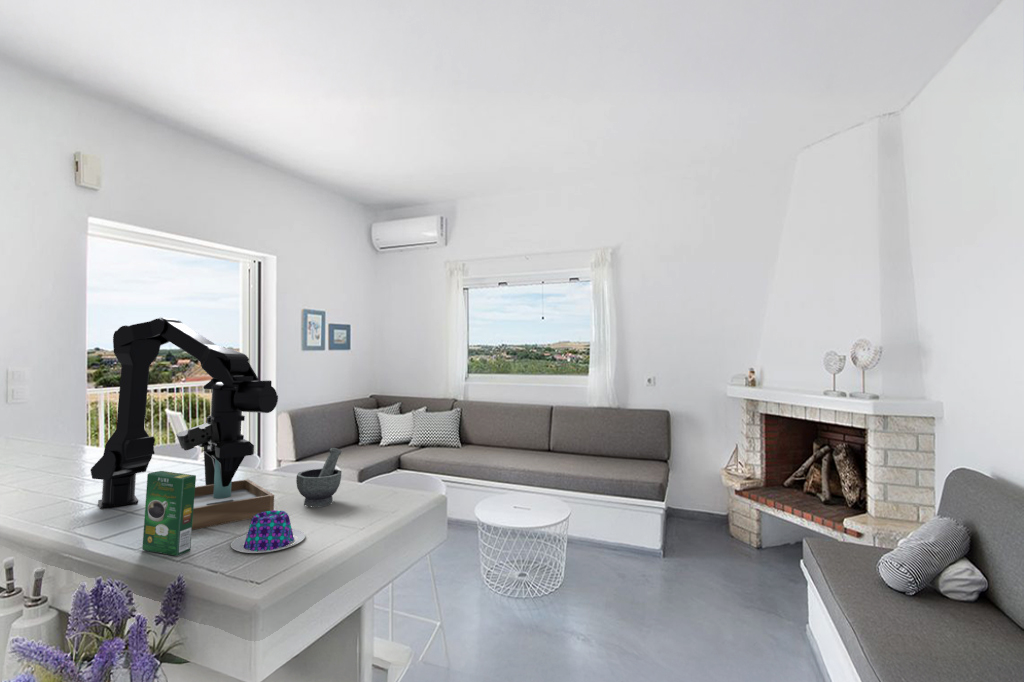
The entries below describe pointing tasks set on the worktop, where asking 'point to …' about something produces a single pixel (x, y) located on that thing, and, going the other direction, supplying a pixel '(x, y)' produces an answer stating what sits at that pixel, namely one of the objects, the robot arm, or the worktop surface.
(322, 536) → the worktop surface
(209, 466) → the drinking cup
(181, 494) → the coffee box
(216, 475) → the peg
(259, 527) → the patterned hat
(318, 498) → the mortar and pestle
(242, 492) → the insert box
